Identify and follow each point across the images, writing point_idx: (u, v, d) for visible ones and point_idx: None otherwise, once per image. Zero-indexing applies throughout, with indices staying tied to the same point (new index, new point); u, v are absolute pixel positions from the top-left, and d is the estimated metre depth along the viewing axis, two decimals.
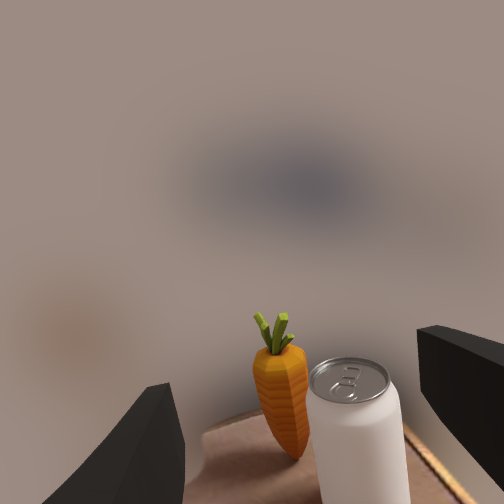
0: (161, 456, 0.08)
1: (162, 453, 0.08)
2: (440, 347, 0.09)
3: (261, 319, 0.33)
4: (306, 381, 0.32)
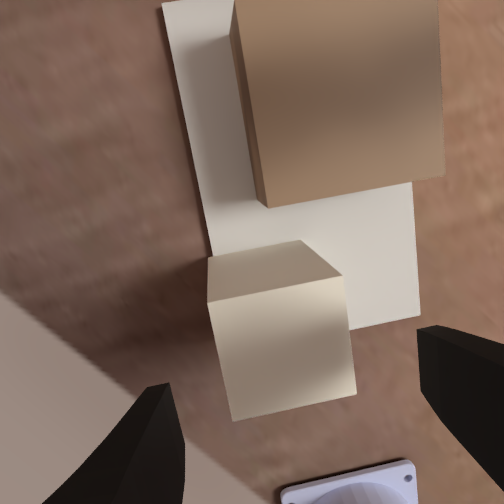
0: (162, 456, 0.08)
1: (162, 453, 0.08)
2: (440, 347, 0.09)
3: None
4: None
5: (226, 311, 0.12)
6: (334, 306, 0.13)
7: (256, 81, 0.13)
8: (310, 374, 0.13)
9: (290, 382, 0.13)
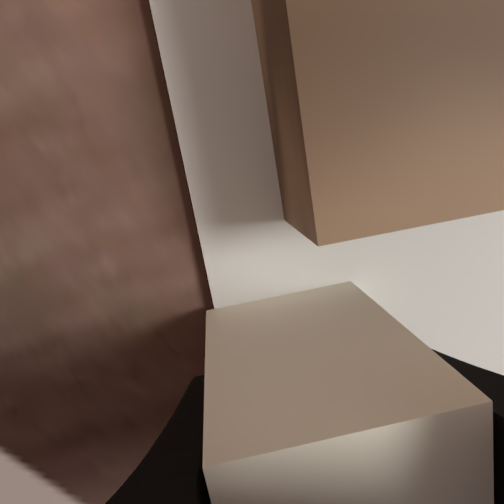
0: None
1: None
2: None
3: None
4: None
5: (245, 483, 0.06)
6: (468, 460, 0.06)
7: None
8: None
9: None
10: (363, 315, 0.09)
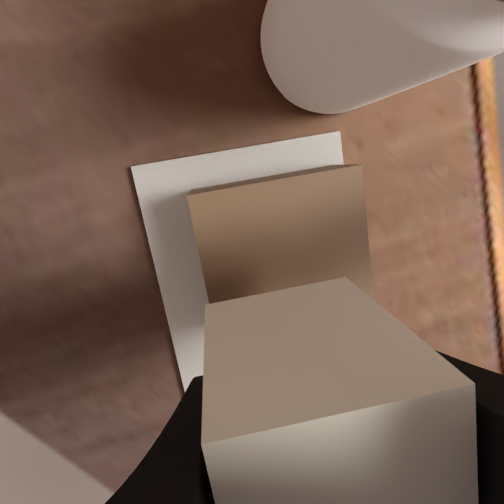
0: None
1: None
2: None
3: None
4: None
5: (241, 460, 0.06)
6: (452, 441, 0.06)
7: (207, 257, 0.15)
8: None
9: None
10: (356, 308, 0.10)
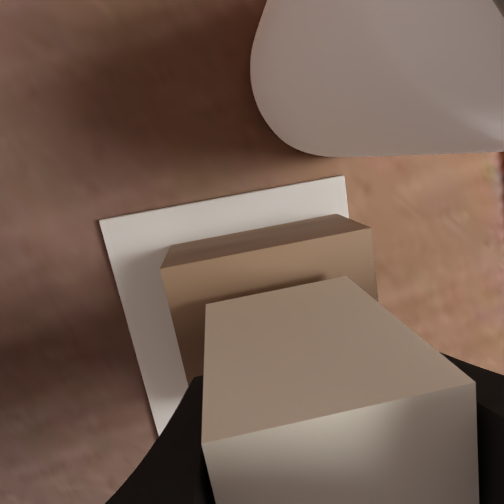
0: None
1: None
2: None
3: None
4: None
5: (241, 459, 0.06)
6: (454, 439, 0.06)
7: (185, 340, 0.13)
8: None
9: None
10: (357, 307, 0.10)
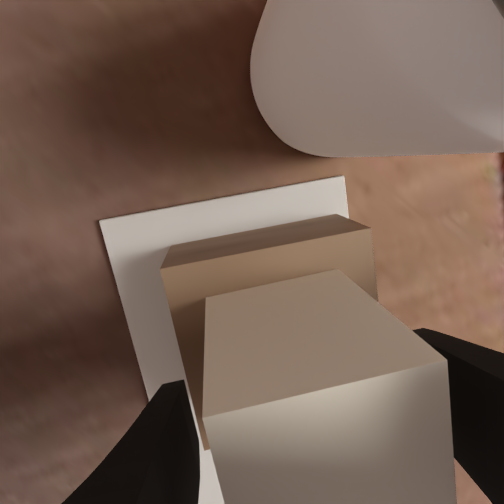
0: (180, 452, 0.08)
1: (180, 449, 0.08)
2: None
3: None
4: None
5: (238, 431, 0.07)
6: (429, 412, 0.07)
7: (186, 340, 0.13)
8: None
9: None
10: (346, 297, 0.10)
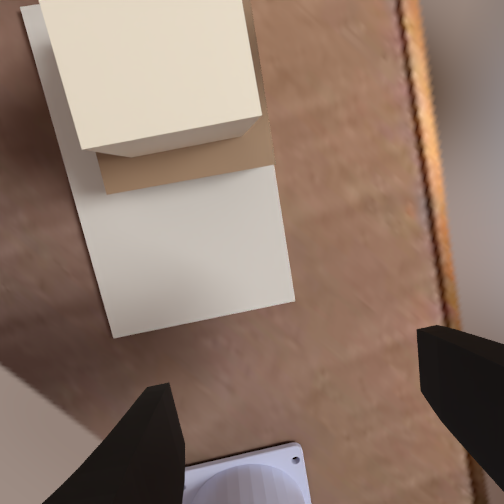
0: (161, 456, 0.08)
1: (162, 453, 0.08)
2: (440, 347, 0.09)
3: None
4: None
5: None
6: None
7: None
8: (190, 77, 0.09)
9: (162, 88, 0.09)
10: None
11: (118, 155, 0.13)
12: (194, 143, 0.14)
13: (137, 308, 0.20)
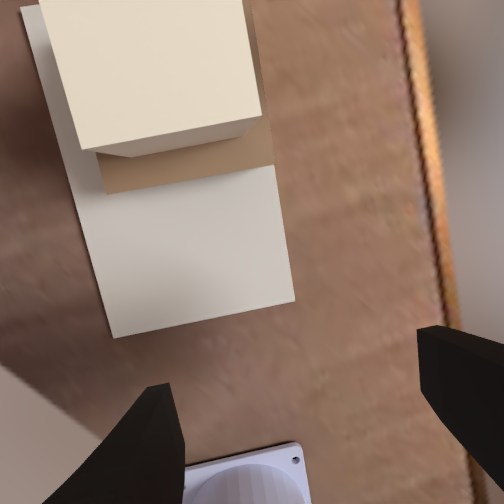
0: (162, 456, 0.08)
1: (162, 453, 0.08)
2: (440, 347, 0.09)
3: None
4: None
5: None
6: None
7: None
8: (190, 77, 0.09)
9: (161, 88, 0.09)
10: None
11: (118, 155, 0.13)
12: (194, 143, 0.14)
13: (137, 309, 0.20)
